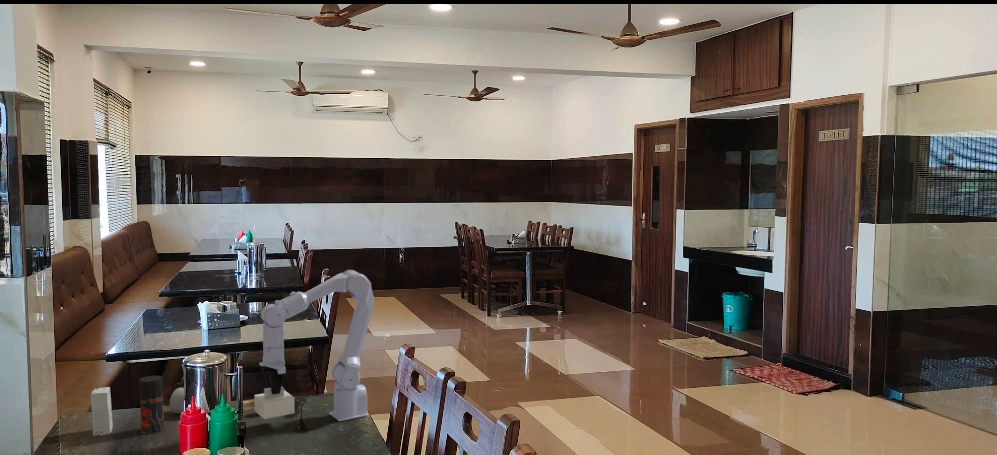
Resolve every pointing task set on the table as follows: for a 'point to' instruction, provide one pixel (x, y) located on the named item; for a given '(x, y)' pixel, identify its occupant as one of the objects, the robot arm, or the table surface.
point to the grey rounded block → (177, 401)
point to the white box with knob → (274, 404)
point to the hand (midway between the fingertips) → (274, 392)
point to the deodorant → (151, 404)
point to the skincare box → (101, 411)
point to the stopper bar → (248, 405)
